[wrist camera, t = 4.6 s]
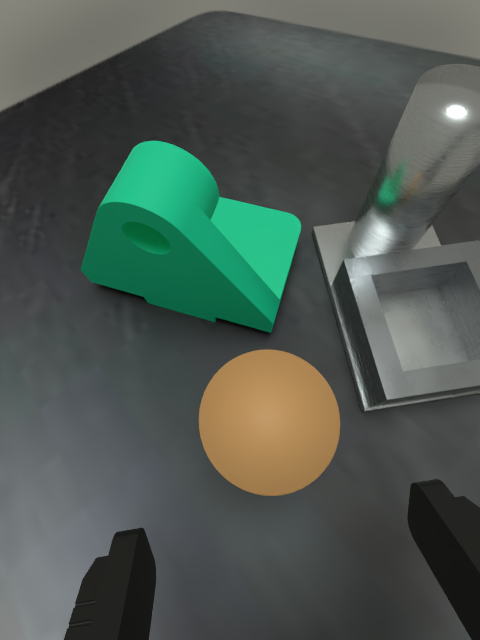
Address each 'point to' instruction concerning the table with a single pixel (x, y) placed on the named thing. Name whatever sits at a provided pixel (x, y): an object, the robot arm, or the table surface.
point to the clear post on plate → (412, 256)
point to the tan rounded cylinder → (269, 422)
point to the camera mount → (189, 241)
